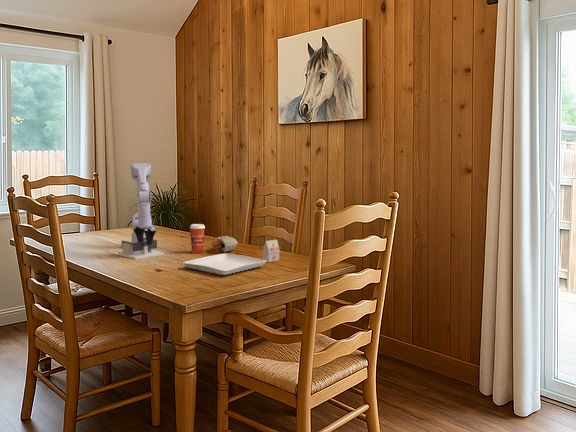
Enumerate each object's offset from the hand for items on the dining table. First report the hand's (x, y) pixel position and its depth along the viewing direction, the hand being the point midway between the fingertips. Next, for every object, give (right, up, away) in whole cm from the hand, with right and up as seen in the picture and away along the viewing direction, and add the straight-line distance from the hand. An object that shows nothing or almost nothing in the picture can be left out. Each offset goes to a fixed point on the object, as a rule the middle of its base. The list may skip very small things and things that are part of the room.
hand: (144, 243), depth 283 cm
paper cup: (+24, -5, +10) cm, 27 cm away
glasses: (-3, -2, +4) cm, 6 cm away
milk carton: (+62, -8, -9) cm, 63 cm away
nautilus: (+35, -5, +13) cm, 37 cm away
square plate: (+42, -10, -25) cm, 49 cm away
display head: (-3, -5, +4) cm, 7 cm away
